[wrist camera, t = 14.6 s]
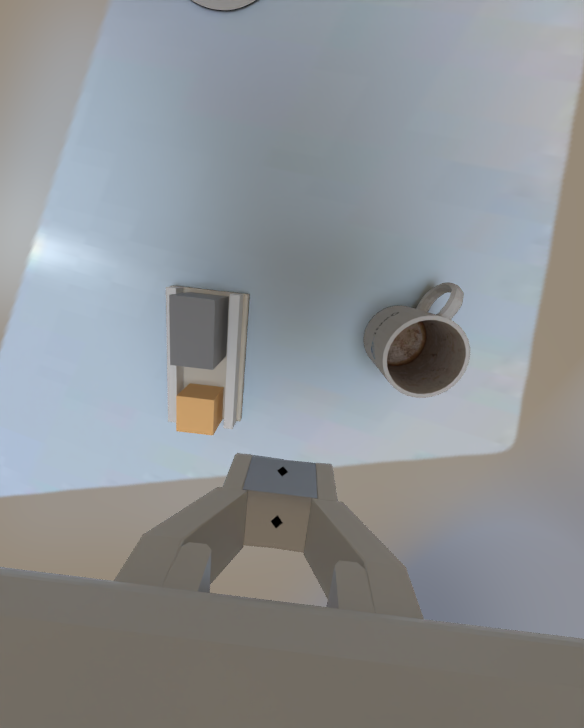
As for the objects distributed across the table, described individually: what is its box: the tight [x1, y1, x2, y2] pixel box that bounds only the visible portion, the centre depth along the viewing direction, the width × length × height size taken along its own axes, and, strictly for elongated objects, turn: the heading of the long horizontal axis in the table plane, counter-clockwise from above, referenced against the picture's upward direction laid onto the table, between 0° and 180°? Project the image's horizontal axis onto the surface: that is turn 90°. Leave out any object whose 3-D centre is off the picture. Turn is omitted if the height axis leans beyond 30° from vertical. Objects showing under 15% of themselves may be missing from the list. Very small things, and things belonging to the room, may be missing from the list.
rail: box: [166, 286, 249, 435], centre depth 38 cm, size 18×10×6 cm, turn 174°
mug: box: [364, 283, 470, 398], centre depth 34 cm, size 12×9×10 cm
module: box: [169, 292, 229, 370], centre depth 36 cm, size 8×5×6 cm, turn 174°
